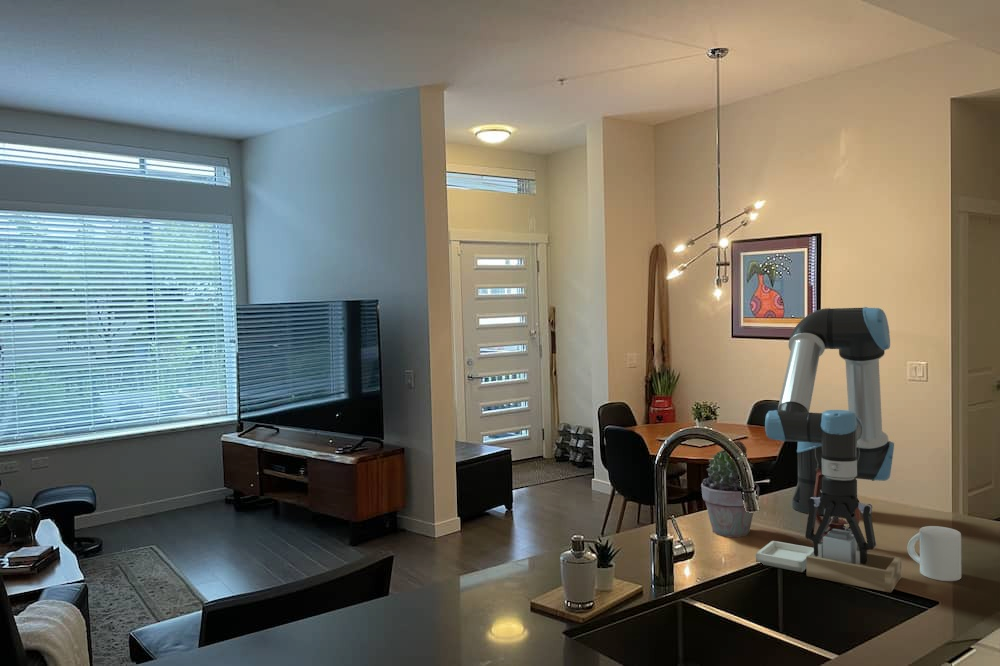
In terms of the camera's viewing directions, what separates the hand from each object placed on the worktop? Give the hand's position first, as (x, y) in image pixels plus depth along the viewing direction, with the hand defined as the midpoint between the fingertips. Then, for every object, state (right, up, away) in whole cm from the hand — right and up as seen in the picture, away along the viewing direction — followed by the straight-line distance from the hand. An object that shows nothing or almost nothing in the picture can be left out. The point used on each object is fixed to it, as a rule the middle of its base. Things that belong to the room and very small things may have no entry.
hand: (840, 573), depth 173 cm
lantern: (+10, +1, +23) cm, 25 cm away
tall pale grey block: (0, 0, 0) cm, 0 cm away
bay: (+2, 0, -2) cm, 3 cm away
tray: (-9, 0, +10) cm, 13 cm away
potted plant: (-15, 0, +33) cm, 37 cm away
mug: (+22, 0, 0) cm, 22 cm away
